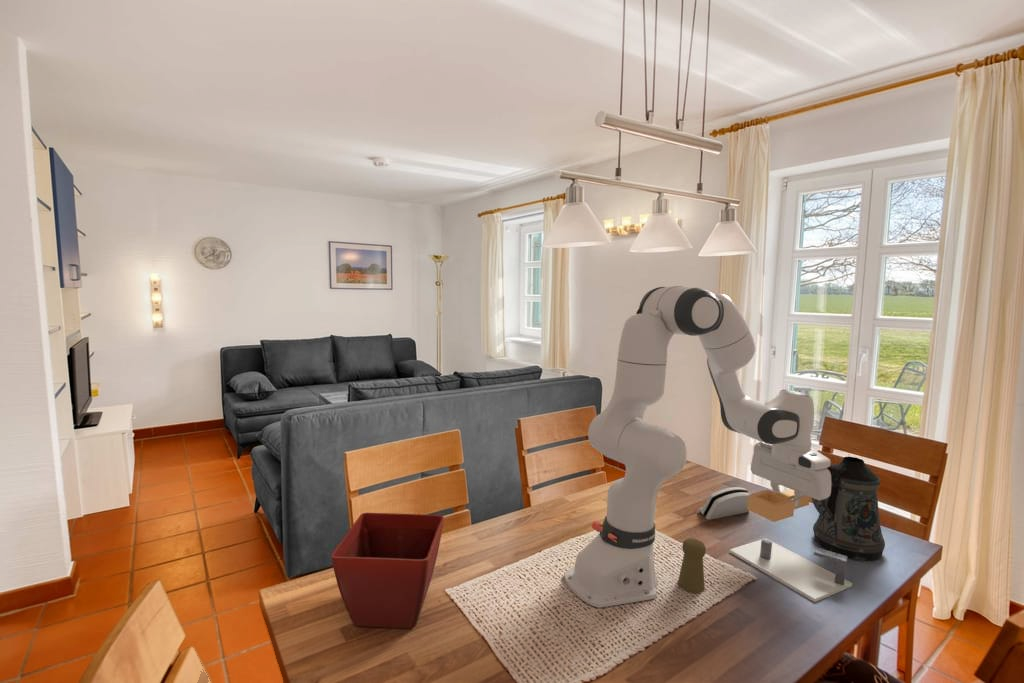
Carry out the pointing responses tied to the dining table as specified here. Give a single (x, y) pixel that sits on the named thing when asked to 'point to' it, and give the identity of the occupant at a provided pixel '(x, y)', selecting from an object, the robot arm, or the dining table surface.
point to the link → (775, 504)
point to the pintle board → (790, 569)
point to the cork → (692, 566)
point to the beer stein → (850, 512)
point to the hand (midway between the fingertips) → (785, 502)
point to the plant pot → (387, 567)
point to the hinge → (726, 503)
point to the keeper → (837, 558)
